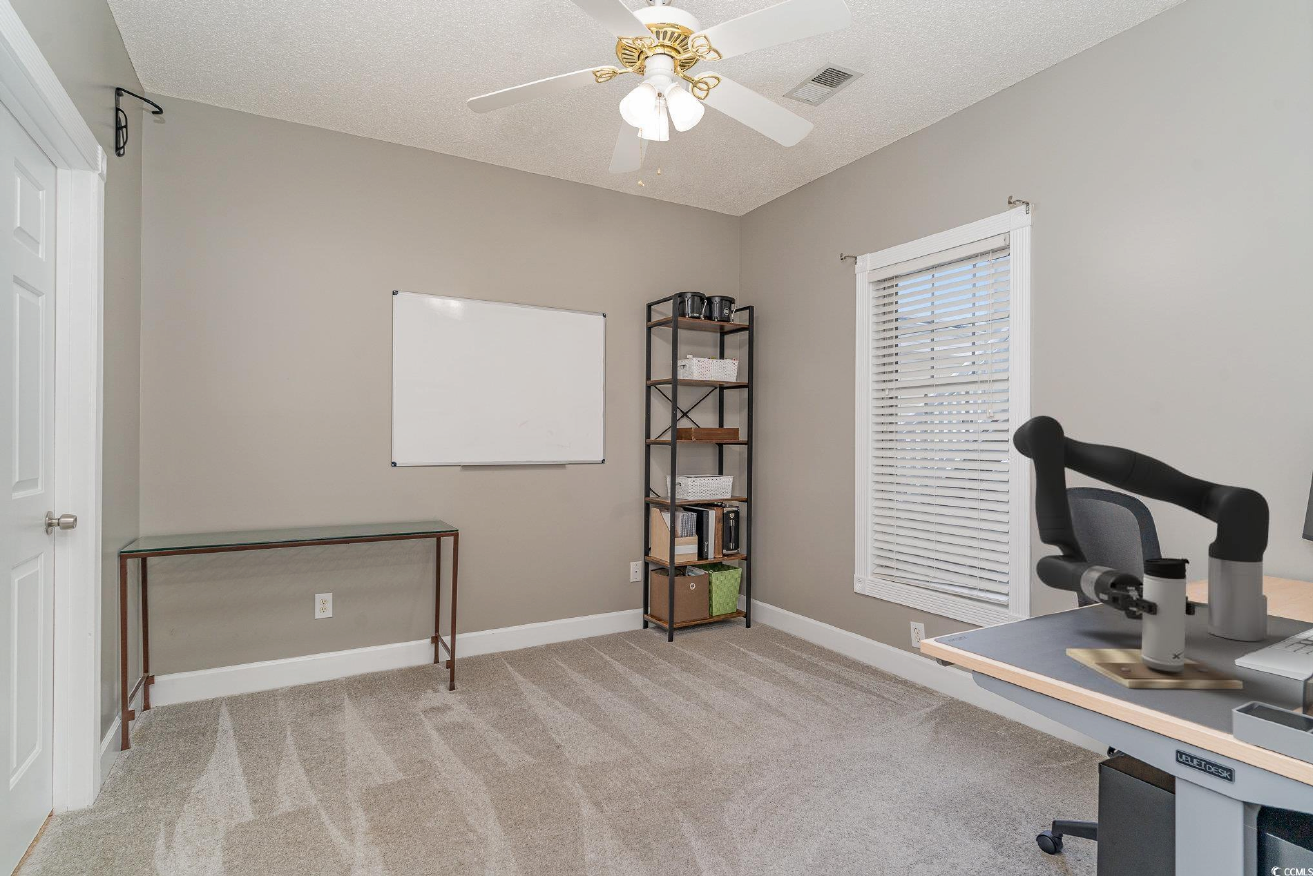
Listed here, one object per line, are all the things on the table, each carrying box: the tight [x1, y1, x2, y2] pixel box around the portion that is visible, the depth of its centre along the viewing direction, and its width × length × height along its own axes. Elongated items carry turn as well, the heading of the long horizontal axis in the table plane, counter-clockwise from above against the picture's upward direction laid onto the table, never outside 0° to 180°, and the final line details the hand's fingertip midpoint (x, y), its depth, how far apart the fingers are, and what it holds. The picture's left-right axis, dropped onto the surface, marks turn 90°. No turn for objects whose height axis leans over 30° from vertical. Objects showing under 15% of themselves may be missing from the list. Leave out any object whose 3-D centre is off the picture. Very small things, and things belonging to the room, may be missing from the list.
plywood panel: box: [1065, 648, 1244, 690], centre depth 126 cm, size 20×18×2 cm
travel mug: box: [1141, 557, 1190, 672], centre depth 122 cm, size 6×7×20 cm
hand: (1174, 609), depth 120 cm, fingers closed on travel mug, 6 cm apart
